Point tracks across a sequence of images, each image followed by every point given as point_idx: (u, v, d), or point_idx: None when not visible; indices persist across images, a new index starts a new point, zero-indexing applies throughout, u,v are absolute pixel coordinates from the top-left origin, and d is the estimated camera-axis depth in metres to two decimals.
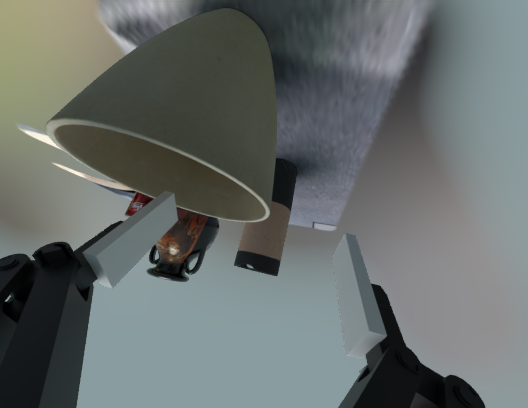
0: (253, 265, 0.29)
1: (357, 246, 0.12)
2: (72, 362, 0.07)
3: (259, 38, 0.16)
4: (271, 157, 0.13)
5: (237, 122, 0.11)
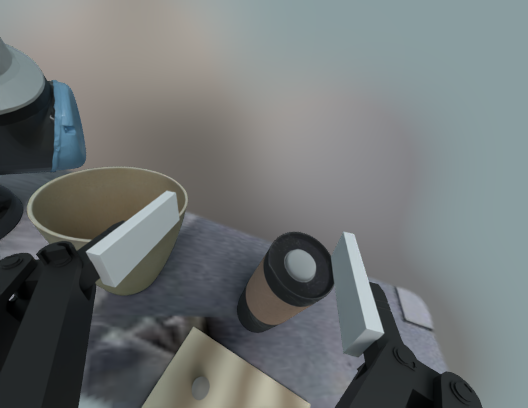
0: (269, 248, 0.21)
1: (355, 245, 0.13)
2: (74, 361, 0.07)
3: None
4: None
5: None
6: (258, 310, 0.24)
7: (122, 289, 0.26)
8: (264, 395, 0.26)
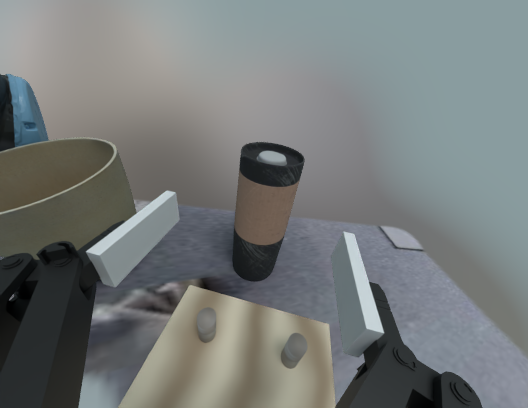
0: (241, 151, 0.23)
1: (355, 245, 0.13)
2: (74, 361, 0.07)
3: None
4: None
5: None
6: (248, 226, 0.24)
7: None
8: (279, 326, 0.25)
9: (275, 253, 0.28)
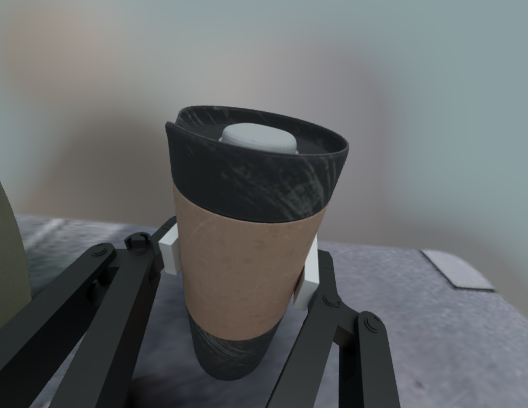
0: None
1: None
2: (132, 349, 0.08)
3: None
4: None
5: None
6: (203, 306, 0.10)
7: None
8: None
9: (270, 339, 0.14)
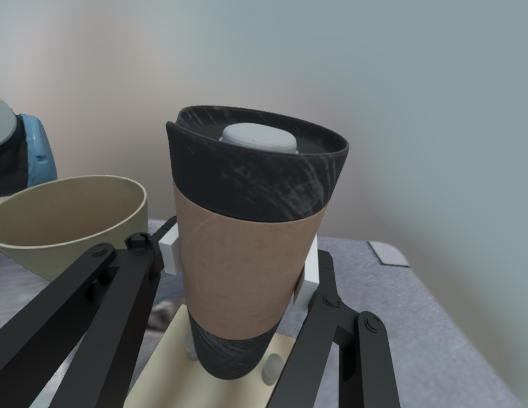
0: None
1: None
2: (132, 349, 0.08)
3: None
4: None
5: None
6: (203, 305, 0.10)
7: None
8: None
9: (270, 338, 0.14)
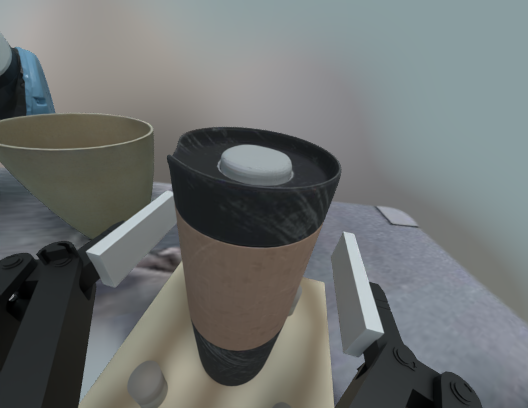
0: None
1: (355, 245, 0.13)
2: (74, 361, 0.07)
3: None
4: (129, 140, 0.30)
5: None
6: (206, 319, 0.10)
7: None
8: None
9: (272, 346, 0.14)
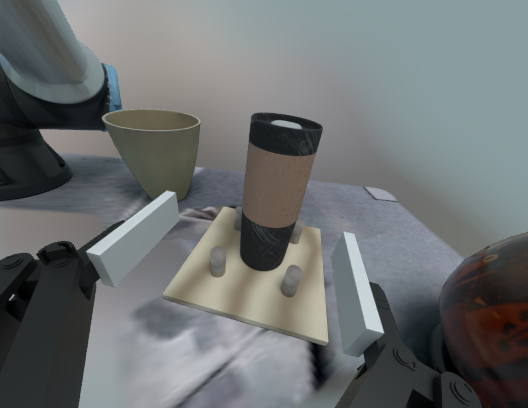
0: (251, 120, 0.20)
1: (355, 245, 0.13)
2: (74, 361, 0.07)
3: None
4: None
5: None
6: (259, 205, 0.21)
7: (170, 190, 0.37)
8: None
9: (288, 239, 0.26)
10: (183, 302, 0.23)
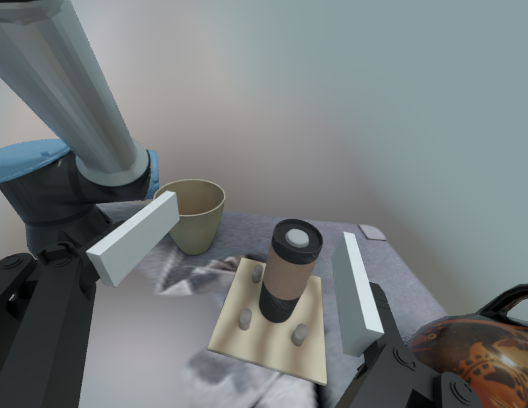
0: (273, 232, 0.29)
1: (355, 245, 0.13)
2: (74, 361, 0.07)
3: None
4: None
5: None
6: (278, 287, 0.30)
7: (200, 247, 0.46)
8: None
9: (297, 302, 0.34)
10: (222, 353, 0.32)
